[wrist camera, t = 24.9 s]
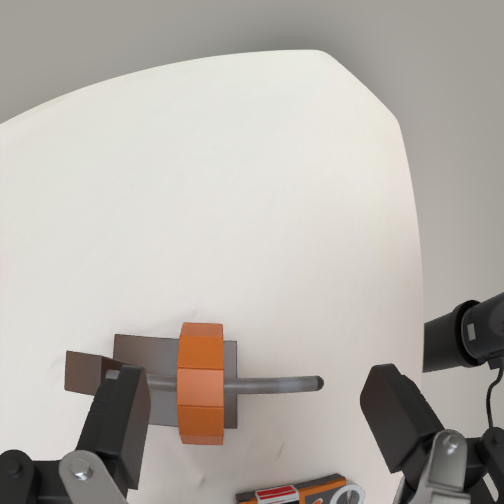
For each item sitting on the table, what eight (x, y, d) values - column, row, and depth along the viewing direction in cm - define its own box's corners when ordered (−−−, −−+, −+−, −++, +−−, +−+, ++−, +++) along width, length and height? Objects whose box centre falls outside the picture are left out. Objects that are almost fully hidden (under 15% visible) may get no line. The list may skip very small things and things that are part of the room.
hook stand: (113, 418, 28) (58, 433, 16) (116, 335, 32) (65, 303, 20) (286, 425, 31) (331, 447, 18) (284, 341, 35) (326, 315, 22)
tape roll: (220, 333, 29) (224, 315, 20) (220, 430, 25) (224, 457, 16) (188, 331, 28) (178, 313, 20) (188, 429, 25) (177, 455, 16)
